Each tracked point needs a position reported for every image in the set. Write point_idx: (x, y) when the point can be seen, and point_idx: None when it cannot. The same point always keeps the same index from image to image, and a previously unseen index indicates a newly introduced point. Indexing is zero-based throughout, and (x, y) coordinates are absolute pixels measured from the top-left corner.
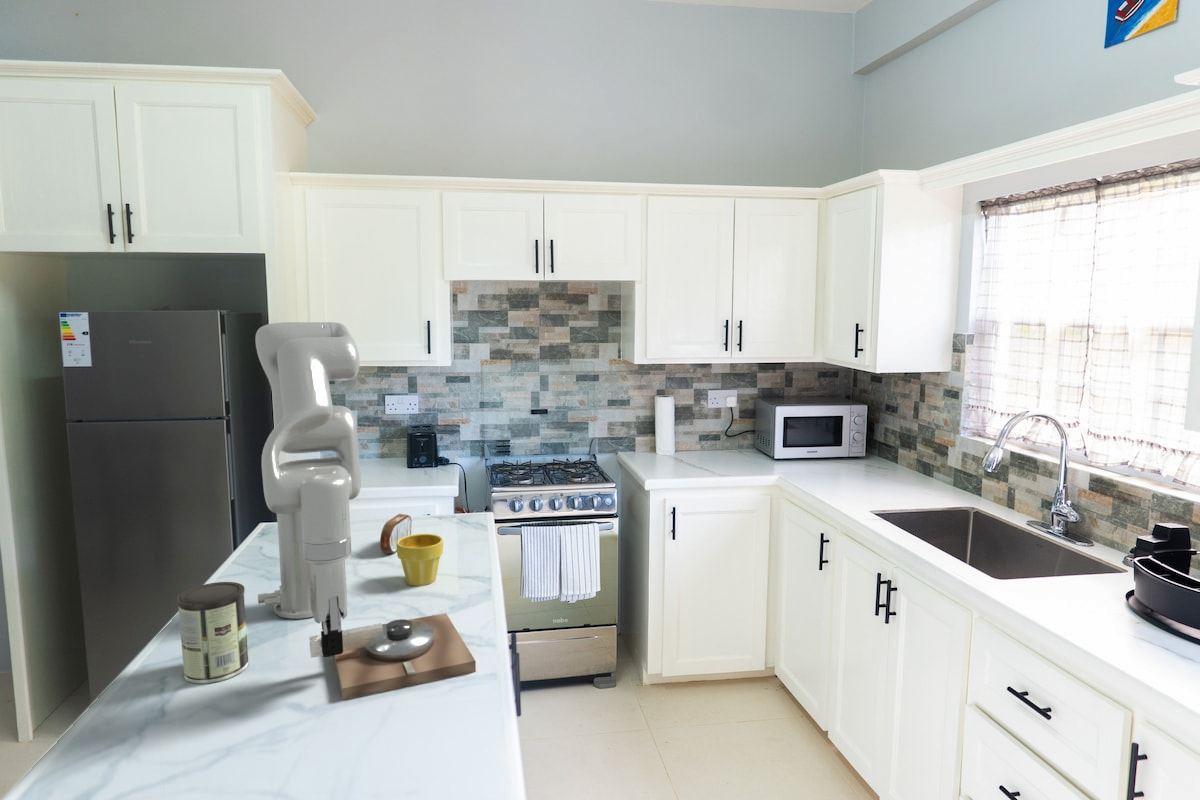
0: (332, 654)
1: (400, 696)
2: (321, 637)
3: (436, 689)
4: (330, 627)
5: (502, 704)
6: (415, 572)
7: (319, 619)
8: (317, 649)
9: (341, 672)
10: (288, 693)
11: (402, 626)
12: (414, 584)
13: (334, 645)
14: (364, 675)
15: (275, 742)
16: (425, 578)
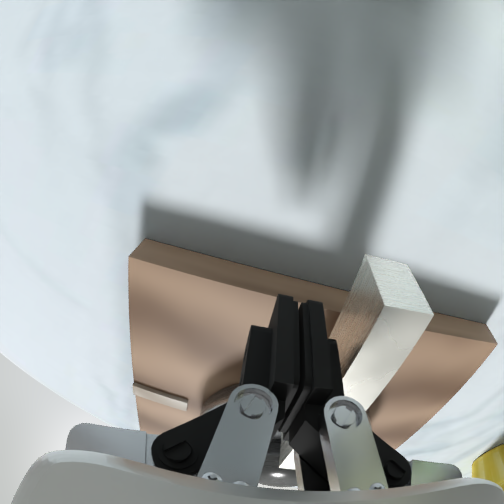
0: (270, 324)
1: (109, 334)
2: (319, 360)
3: (113, 379)
4: (117, 444)
5: (54, 390)
6: (490, 470)
7: (28, 473)
8: (360, 297)
9: (238, 295)
10: (297, 111)
11: (262, 476)
12: (490, 451)
13: (243, 362)
14: (177, 330)
15: (48, 44)
16: (477, 467)
